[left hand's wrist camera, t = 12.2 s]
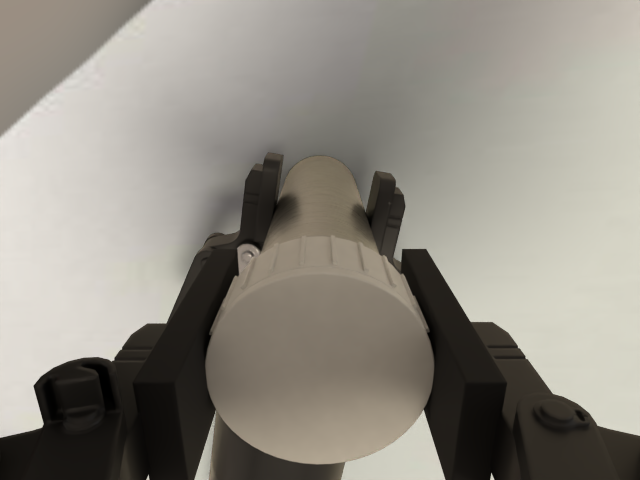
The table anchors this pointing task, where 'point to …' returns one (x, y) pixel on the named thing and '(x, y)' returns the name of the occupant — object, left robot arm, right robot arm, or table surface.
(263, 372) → the lid
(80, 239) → the table surface
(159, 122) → the table surface
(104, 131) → the table surface
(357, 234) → the silver metal cylinder
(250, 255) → the right robot arm
